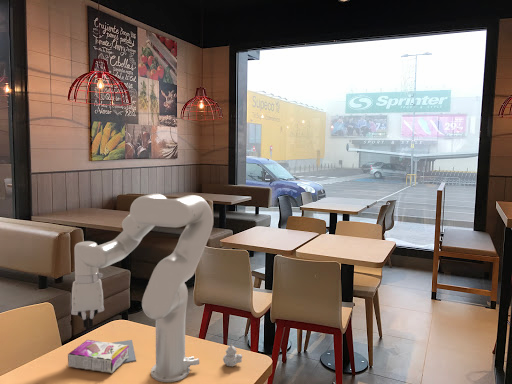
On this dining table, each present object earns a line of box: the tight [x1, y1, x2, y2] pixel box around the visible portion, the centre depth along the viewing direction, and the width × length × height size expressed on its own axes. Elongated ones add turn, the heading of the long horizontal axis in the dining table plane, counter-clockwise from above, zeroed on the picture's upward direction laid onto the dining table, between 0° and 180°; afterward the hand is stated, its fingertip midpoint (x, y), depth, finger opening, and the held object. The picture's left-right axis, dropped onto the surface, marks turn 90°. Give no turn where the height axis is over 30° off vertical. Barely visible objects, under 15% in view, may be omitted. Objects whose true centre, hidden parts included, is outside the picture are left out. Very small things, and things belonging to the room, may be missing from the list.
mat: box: [112, 339, 137, 364], centre depth 153 cm, size 17×16×1 cm
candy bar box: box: [67, 339, 129, 374], centre depth 146 cm, size 11×5×16 cm
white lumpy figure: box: [222, 342, 243, 367], centre depth 147 cm, size 5×7×8 cm
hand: (88, 328), depth 149 cm, fingers closed
